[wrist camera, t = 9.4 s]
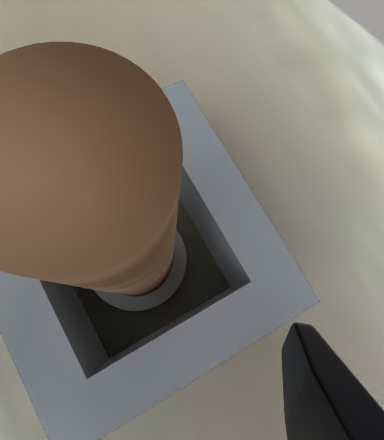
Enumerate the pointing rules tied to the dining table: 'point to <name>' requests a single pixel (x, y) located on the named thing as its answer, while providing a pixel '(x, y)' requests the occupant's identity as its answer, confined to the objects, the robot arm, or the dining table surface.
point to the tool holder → (174, 331)
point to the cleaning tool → (89, 174)
